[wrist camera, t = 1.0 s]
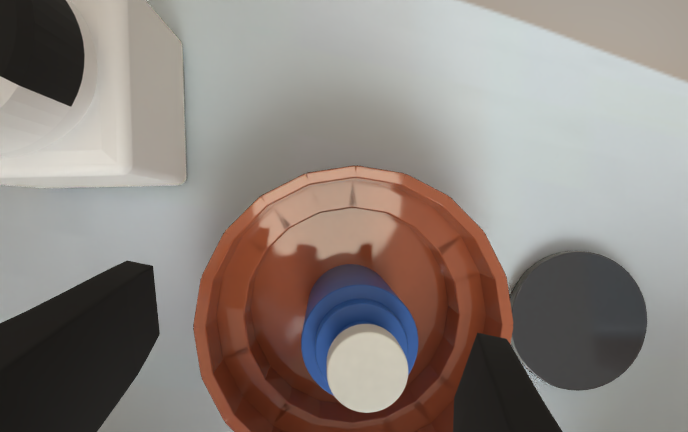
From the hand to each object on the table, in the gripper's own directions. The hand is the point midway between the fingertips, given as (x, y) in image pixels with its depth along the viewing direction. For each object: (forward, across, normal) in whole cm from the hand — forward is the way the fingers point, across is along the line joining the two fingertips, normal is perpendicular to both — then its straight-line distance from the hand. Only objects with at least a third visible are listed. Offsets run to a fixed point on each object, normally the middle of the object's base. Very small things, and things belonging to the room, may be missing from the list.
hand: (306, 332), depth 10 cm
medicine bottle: (+13, +13, +1) cm, 18 cm away
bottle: (+10, 0, +8) cm, 13 cm away
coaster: (+13, -12, +8) cm, 19 cm away
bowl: (+11, 0, +8) cm, 14 cm away
